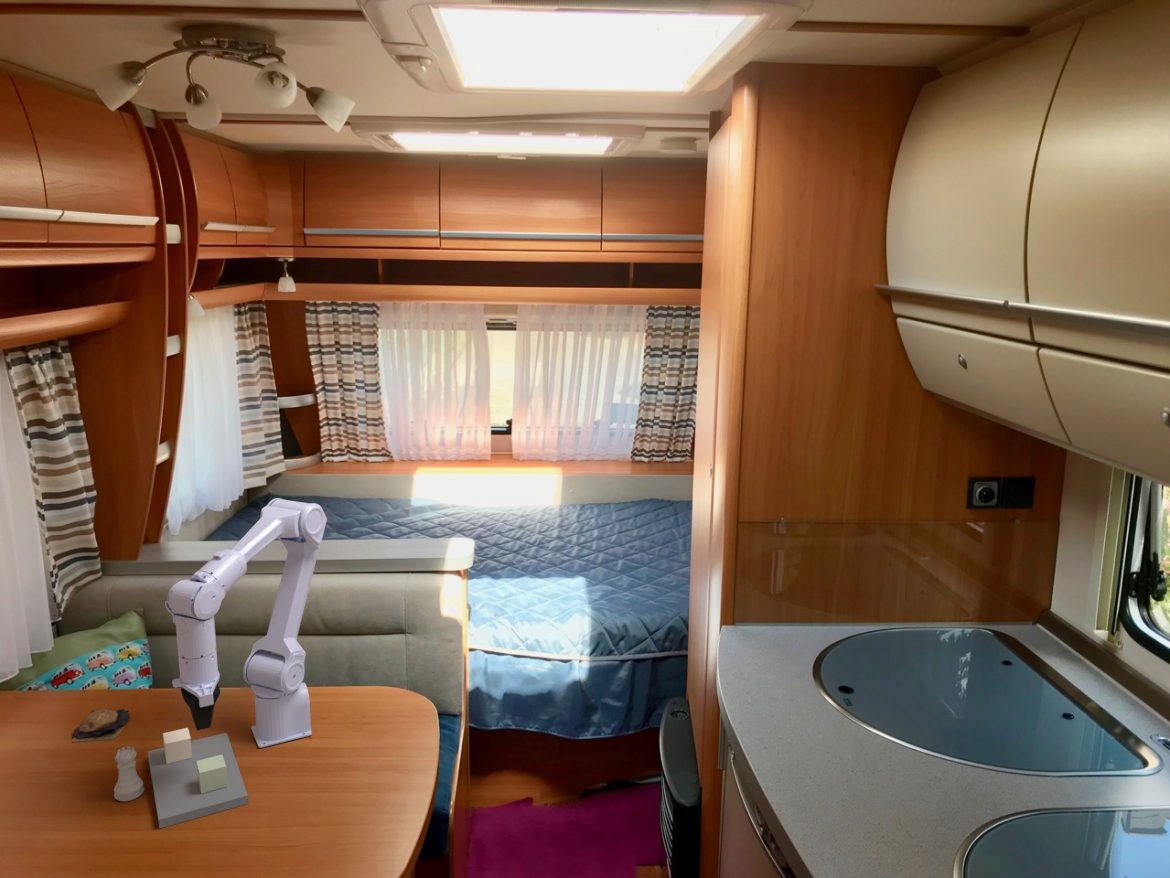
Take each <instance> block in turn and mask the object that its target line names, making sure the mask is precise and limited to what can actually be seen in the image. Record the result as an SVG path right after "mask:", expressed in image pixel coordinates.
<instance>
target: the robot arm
mask: <svg viewBox="0 0 1170 878" xmlns="http://www.w3.org/2000/svg"><path fill="white" fill-rule="evenodd" d="M327 521H328V518H327V515H326V513H325V512H324V510H323V507H322V506H321V505H320V504H318V503H313V502H312V503H310V502H309V503H308V502H303V501H302V502H300V501H295V500H288V499H283V498H280V497H276V498H272V499H271V500H270V501H269V502H268V503H267V505H265V506H264V507H263V508H261V511H260V516H259V520H257V522H255V524H254V525H253V526H252V527H251V528H250V529H249V530H248V531H247V532H246V533H245V535H243V536H242V538H241V539H239V541H238V542H237V543H236V544H235V545H234V546H233V547H232V548H231V549H221V550H216V552H214V553H213V555H212V557H211V558H210V560H209V559H208V561H207V562H206V563H205V564H204V565H202V567H201V568H199V569H198V571H196V572H194V573H193V575H192V576H191V577H190V578H189V579H182V580H180V581H178V582H177V583H175V584H173V586H171V588H170V590H169V591H168V594H167V599H166V600H165V602H164V605H165V608H166V610H167V612H168V613H170V615H171V617H172V623H173V624H174V625H175V632H176V643H177V655H178V666H179V667H178V668H179V677H178V678H174V679H172V683H171V684H172V687H173V688H174V689H175V688H176V689H177V688H180V693H181V696H182V700H183V701H184V702H185V704H186V705H187V707H189V708H188V709H189V710H190V714H191V716H192V720H193V723H194V726H195V729H196V731H203V730H206V729H210V728H211V727H212V726H211V725H212V721H213V716H214V709H215V706H216V702H217V701H218V698H219V696H220V694H221V688H220V686H219V680H220V678H221V677H220V672H219V667H218V655H217V639H216V628H215V626H216V625H215V615H216V614H217V613H218V611H219V610H220V608H221V605H222V601H223V600H224V599H225V597H226V593H227V592H228V591H229V590H230V589H231V588H232V587H233V586H234V585H236V584H237V582H239V581H240V580H241V578H243V577H244V576H245V574H247V569H248V568H247V563H249V562H250V561H251V560H252V559H254V558H255V557H256V556H257V555H259V553H261V552H263V551H264V549H266V548H267V547H268V546H270V545H271V544H272V543H273V542H274V541H276V540H278V541H279V542H280V543H282V544H283V545H284V547H285V550H287V555H286V558H285V564H284V567H283V570H282V574H281V578H280V582H279V586H278V589H277V590H278V591H277V594H276V597H275V601H274V605H273V609H272V612H271V613H272V614H271V617H270V621H269V625H268V629H267V633H266V634H265V636H263V637H262V638H260V639H258V640H257V641H255V642H254V643H253V645H252V649H251V652H250V654H249V656H248V657H247V658H246V661H245V662H244V665H243V670H242V671H243V672H242V674H243V675H242V676H243V679H244V681H245V682H246V683H247V684H248V685H250V690H251V692H253V693H254V708H255V725H252V726H250V727H251V731H252V733H253V737H254V739H255V741H256V744H257V748H265V747H270V746H274V745H277V744H282V743H286V742H290V741H293V740H297V739H301V738H305V737H309V736H311V735H312V734H313V731H312V726H311V725H312V724H311V723H312V721H311V702H310V695H309V689H308V687H307V683H305V682H303V681H304V678H305V659H306V655H307V653H306V651H305V650H304V648H303V646H301V645H300V643H299V641H298V640H297V639H298V635H299V631H300V628H301V624H302V623H301V622H302V619H303V615H304V611H305V606H306V604H307V600H308V595H309V592H310V589H311V588H310V587H311V583H312V579H313V575H314V572H315V566H316V564H317V559H318V556H319V551H320V548H321V545H322V541H323V538H324V533H325V528H326V525H327Z"/></svg>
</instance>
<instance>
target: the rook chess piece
mask: <svg viewBox="0 0 1170 878" xmlns="http://www.w3.org/2000/svg"><path fill="white" fill-rule="evenodd" d="M137 755H138V752H137V751H136V750H135V747H134V746H131V745H129V746H127V748H125V746H123V747H121V749H117V751H116V755H115V756H114V760H115V761H116V762H117V764H116V768H117V769H118V776H117V777H118V780H117V781H116V784H115V786H114V787H113V788H114V789H113V792H114V793H113V797H114V799H116V800H117V801H119V802H122V803H123V802H126V803H127V802H131V801H133V800H136V799H137V798H139V797H140V796H141V795H142V794H143V793H144V791H145V787H144V782H143V780H142V779H141V777H140V775H138V771H137V769H136V764H137V760H135V758H136V756H137Z"/></svg>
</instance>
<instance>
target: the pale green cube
mask: <svg viewBox="0 0 1170 878" xmlns="http://www.w3.org/2000/svg"><path fill="white" fill-rule="evenodd" d="M196 762H197V776H198V784H199V788H200V792H201V794H202V793H206V792H209V791H213V790H217V789H221V788H224V787H227V773H226V764H225V761H224V758H223V755H218V756H214V757H210V758H206V759H202V760H198V761H196Z"/></svg>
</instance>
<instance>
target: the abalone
mask: <svg viewBox="0 0 1170 878" xmlns="http://www.w3.org/2000/svg"><path fill="white" fill-rule="evenodd" d="M129 712H130V711H129V710H125V709H124V708H119V709H118V710H113V709H97V710H94V709H92V710H91V712H89V713H88V714H87V715H86V716H85V717H84V718H83V720H82V722H81V723H80V725H79V726H77V727H76V728H74V730H73V736H74V737H73V738H72V740H71V743H73V744H76V743H89V742H92V743H93V742H102V741H106V742H107V741H113V740H115V739H116V738H117V737H118V735H119V734H120V733H121V732H122V730H123V729H125V726H126V725H127V723H128V721H129V720H130V718H131V717H130V714H129Z"/></svg>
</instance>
